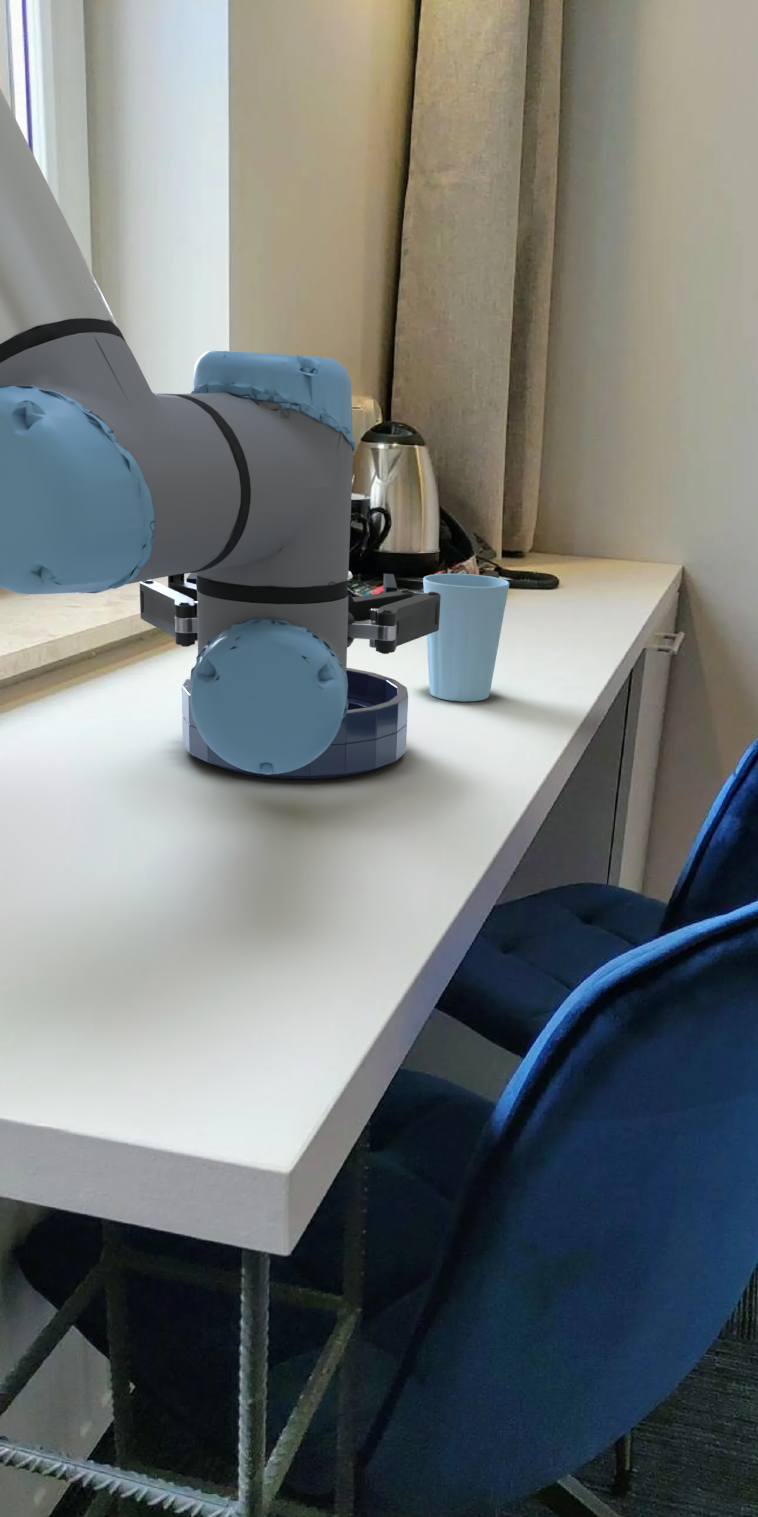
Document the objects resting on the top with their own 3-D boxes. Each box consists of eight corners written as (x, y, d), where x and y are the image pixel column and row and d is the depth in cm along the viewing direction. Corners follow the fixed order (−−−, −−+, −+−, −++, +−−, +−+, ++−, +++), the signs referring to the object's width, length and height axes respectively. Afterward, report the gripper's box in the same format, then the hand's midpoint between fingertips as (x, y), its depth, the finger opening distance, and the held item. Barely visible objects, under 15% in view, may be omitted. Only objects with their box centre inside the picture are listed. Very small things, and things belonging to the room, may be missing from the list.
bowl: (170, 779, 90) (168, 709, 88) (197, 720, 105) (197, 659, 103) (408, 787, 91) (411, 718, 89) (401, 727, 106) (404, 667, 104)
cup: (416, 702, 115) (423, 583, 111) (417, 683, 122) (423, 571, 118) (502, 707, 115) (511, 588, 111) (497, 687, 122) (506, 576, 118)
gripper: (67, 700, 76) (125, 632, 95) (489, 715, 78) (461, 646, 97) (60, 569, 73) (121, 527, 93) (498, 589, 75) (467, 544, 95)
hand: (295, 588), depth 95 cm, fingers open, 13 cm apart
